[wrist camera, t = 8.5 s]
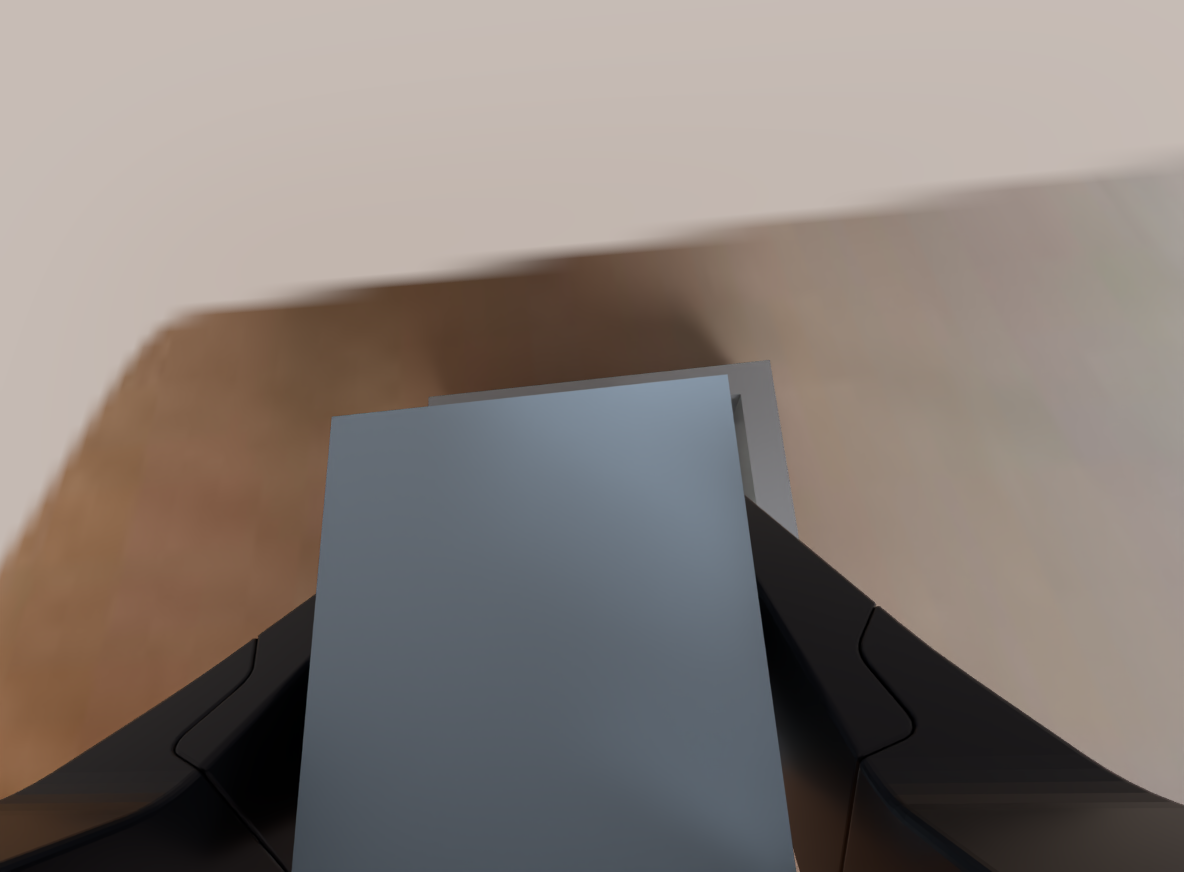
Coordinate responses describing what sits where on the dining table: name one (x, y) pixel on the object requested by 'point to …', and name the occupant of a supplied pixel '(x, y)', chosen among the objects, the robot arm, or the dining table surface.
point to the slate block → (540, 643)
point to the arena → (751, 420)
